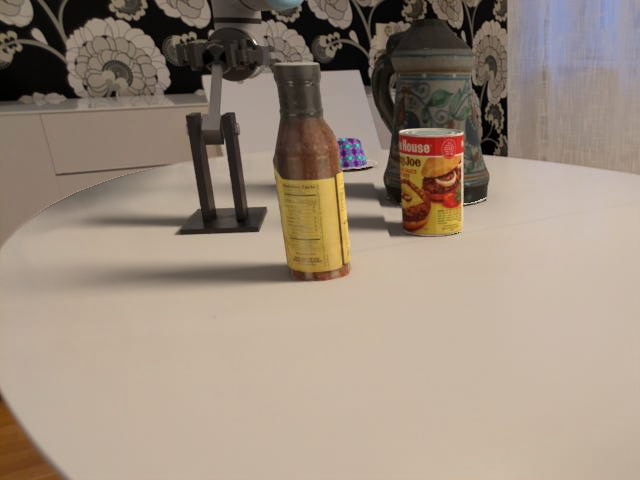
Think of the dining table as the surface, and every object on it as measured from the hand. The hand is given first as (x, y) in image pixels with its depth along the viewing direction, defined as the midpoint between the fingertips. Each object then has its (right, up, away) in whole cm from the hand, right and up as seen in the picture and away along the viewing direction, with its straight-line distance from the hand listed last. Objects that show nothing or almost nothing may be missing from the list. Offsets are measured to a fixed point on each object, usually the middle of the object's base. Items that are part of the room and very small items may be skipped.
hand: (210, 55), depth 83 cm
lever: (0, -5, +3) cm, 6 cm away
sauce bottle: (+17, -30, -16) cm, 38 cm away
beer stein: (+25, -12, +23) cm, 36 cm away
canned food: (+27, -21, +4) cm, 35 cm away
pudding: (+7, 0, +49) cm, 49 cm away
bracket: (+1, -21, +3) cm, 21 cm away
